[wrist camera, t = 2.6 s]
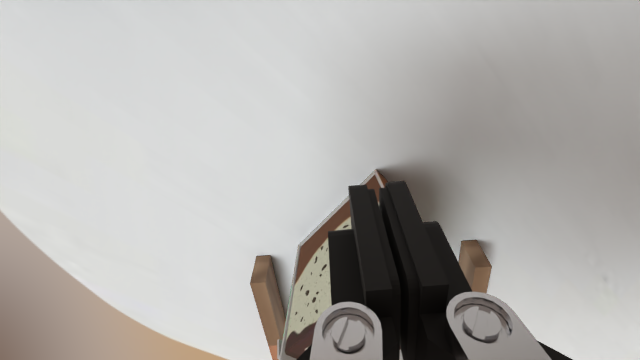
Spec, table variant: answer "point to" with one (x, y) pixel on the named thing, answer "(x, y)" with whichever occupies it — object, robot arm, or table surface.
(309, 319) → the food container
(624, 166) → the table surface
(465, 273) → the lane walls
